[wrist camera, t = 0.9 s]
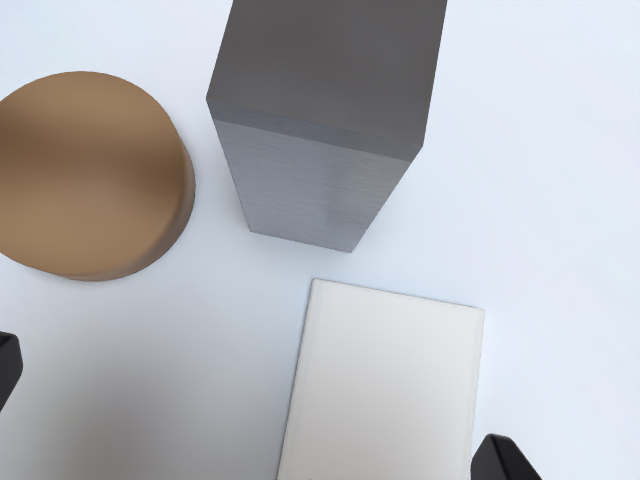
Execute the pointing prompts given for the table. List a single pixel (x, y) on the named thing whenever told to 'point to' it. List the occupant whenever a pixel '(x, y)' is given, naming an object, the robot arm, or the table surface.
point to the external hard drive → (382, 387)
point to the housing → (323, 109)
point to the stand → (90, 177)
